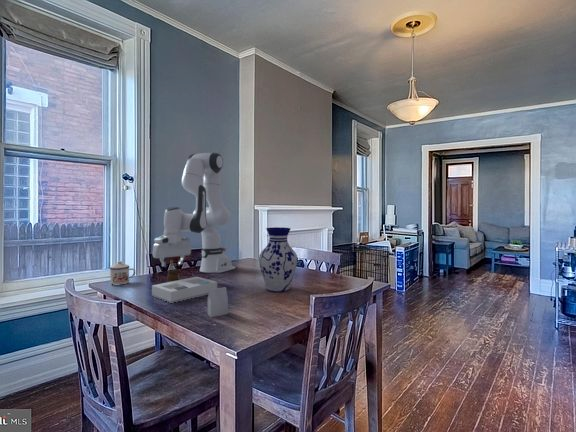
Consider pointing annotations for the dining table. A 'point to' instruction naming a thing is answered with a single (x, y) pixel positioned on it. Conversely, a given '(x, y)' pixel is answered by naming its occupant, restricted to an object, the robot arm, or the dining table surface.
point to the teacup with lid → (120, 273)
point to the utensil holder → (172, 273)
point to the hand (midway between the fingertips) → (172, 265)
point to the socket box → (183, 289)
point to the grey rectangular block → (217, 302)
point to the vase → (278, 261)
